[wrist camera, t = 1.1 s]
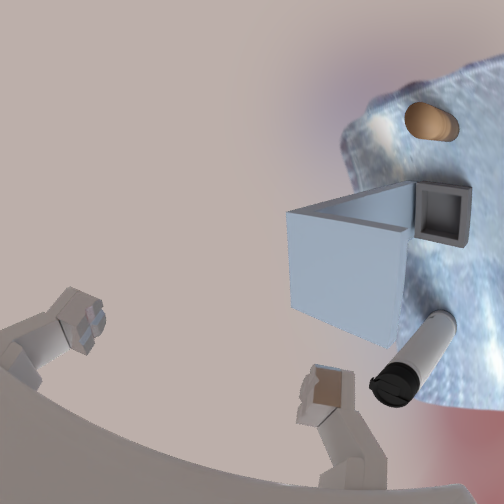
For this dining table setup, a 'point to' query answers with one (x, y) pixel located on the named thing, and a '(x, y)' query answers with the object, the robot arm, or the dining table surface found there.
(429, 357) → the travel mug
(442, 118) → the peg
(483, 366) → the dining table surface
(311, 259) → the awning
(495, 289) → the dining table surface
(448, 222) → the socket
